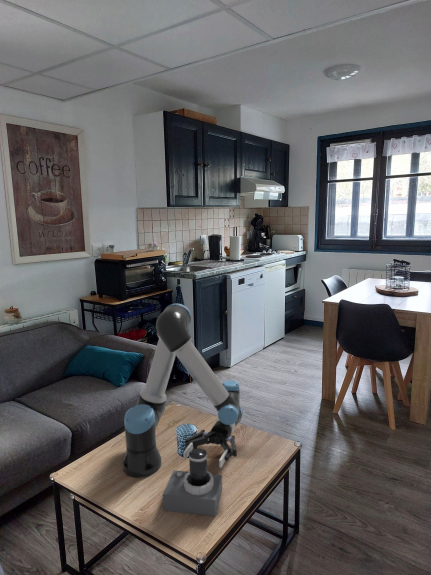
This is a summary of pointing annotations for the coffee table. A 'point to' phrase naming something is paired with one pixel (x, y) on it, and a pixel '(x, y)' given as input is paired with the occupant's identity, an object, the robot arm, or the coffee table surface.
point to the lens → (198, 467)
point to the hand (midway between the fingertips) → (201, 460)
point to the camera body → (192, 494)
